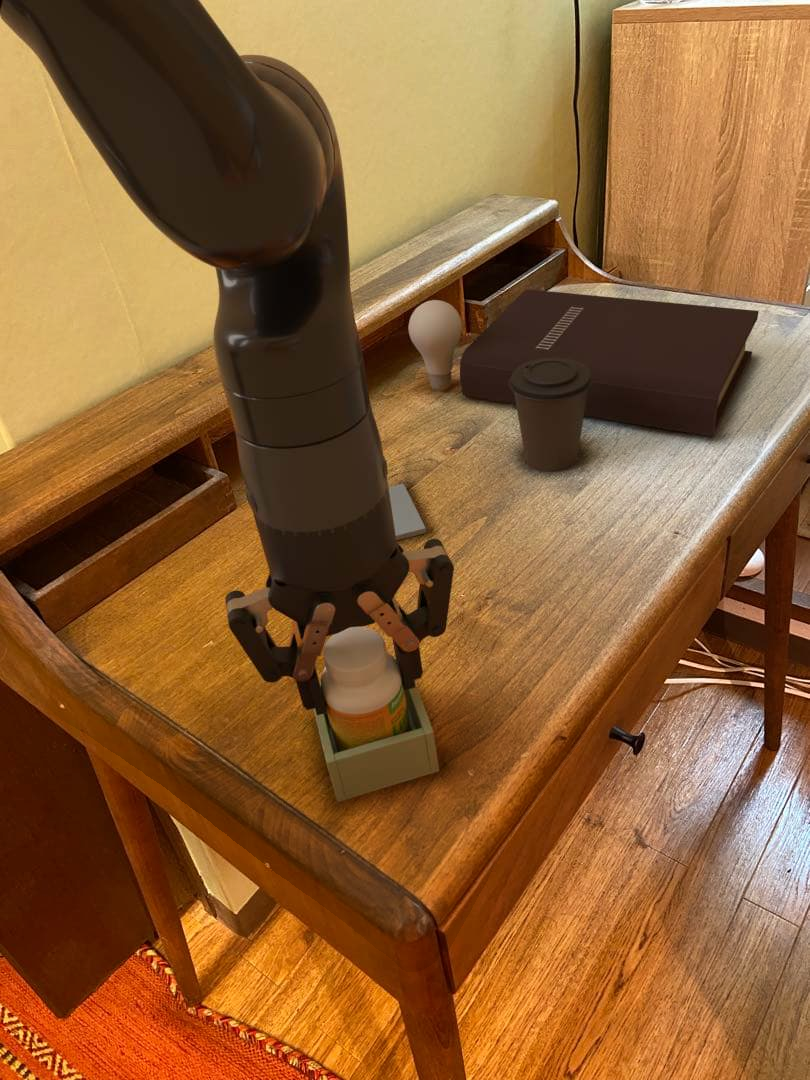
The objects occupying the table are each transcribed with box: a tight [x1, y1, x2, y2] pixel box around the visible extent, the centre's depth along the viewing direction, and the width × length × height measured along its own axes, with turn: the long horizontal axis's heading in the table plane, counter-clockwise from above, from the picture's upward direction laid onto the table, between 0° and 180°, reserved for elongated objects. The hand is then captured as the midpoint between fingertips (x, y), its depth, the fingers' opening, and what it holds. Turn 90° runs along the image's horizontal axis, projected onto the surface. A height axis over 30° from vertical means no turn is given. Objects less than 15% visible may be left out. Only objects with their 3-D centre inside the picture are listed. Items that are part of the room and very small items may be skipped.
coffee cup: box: [508, 358, 593, 472], centre depth 82 cm, size 8×8×10 cm
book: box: [459, 288, 759, 438], centre depth 94 cm, size 28×20×6 cm
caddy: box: [313, 658, 440, 803], centre depth 57 cm, size 7×7×4 cm
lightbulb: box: [408, 299, 463, 392], centre depth 95 cm, size 6×6×11 cm
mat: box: [388, 483, 427, 541], centre depth 79 cm, size 9×8×1 cm
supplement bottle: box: [320, 626, 411, 752], centre depth 55 cm, size 5×5×10 cm
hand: (363, 691), depth 55 cm, fingers closed on supplement bottle, 5 cm apart
